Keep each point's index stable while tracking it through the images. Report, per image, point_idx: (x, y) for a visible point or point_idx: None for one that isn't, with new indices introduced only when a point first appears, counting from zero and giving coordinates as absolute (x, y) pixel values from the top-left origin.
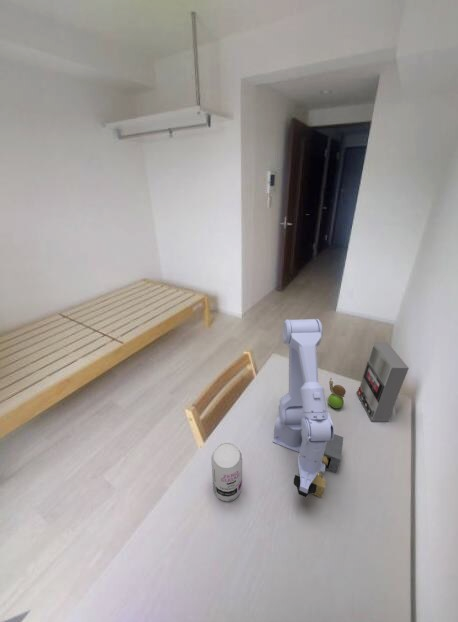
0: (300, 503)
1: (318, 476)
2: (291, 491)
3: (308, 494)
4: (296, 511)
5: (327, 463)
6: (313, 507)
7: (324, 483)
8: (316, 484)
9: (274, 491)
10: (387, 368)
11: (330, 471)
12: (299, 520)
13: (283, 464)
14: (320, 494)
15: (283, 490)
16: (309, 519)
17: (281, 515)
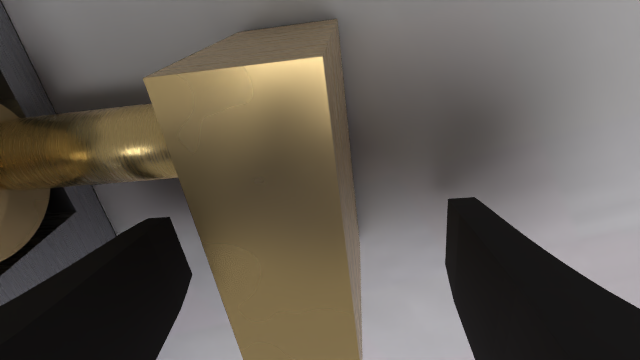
0: (476, 180)
1: (187, 200)
2: (410, 259)
3: (557, 260)
4: (558, 191)
5: None
6: (466, 69)
7: (232, 81)
8: (334, 196)
9: (464, 341)
10: None
11: (1, 10)
12: (632, 150)
13: None
14: (338, 51)
15: (430, 302)
16: (600, 72)
17: (623, 272)
